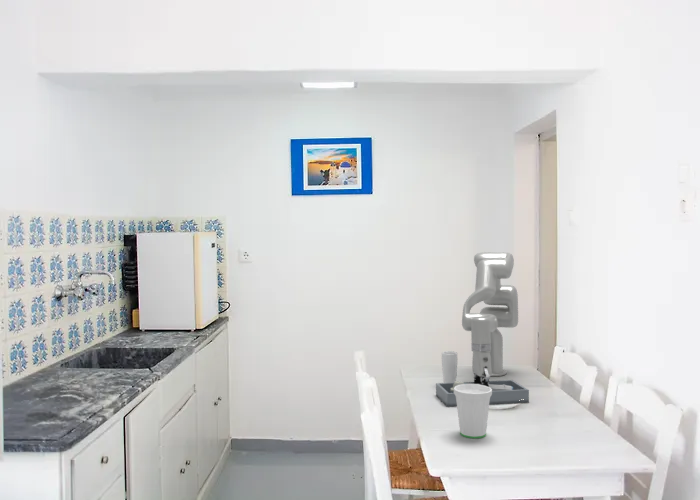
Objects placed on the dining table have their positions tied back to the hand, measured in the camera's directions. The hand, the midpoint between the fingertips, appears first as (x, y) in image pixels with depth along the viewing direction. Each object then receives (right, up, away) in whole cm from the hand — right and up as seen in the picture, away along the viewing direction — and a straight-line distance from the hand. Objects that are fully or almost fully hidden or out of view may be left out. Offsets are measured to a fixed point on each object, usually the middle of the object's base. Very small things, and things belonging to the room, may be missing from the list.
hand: (481, 391), depth 236 cm
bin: (0, -3, 0) cm, 3 cm away
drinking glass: (-9, -3, +19) cm, 21 cm away
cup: (-12, -5, -41) cm, 43 cm away
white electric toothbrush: (0, -2, 0) cm, 2 cm away
